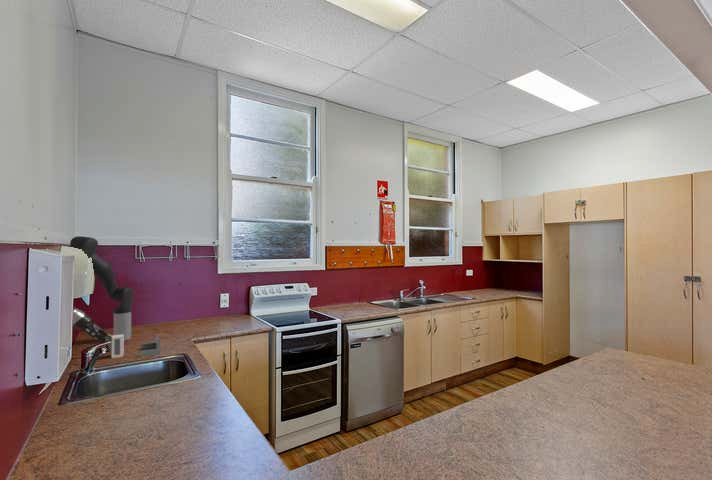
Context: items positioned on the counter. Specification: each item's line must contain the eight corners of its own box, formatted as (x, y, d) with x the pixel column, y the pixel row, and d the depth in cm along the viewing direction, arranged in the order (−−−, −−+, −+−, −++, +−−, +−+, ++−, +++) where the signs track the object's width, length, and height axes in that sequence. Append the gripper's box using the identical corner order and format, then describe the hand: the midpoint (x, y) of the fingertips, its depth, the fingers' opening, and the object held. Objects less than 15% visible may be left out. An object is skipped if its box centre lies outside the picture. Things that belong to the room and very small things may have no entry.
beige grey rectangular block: (112, 355, 189) (112, 335, 189) (123, 353, 191) (123, 334, 191) (111, 358, 184) (111, 337, 184) (122, 356, 187) (122, 336, 187)
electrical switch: (118, 350, 197) (116, 334, 196) (107, 353, 193) (106, 337, 192) (110, 347, 202) (109, 331, 202) (100, 350, 198) (98, 334, 197)
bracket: (141, 349, 200) (141, 335, 199) (159, 346, 204) (159, 333, 204) (140, 356, 187) (140, 342, 187) (159, 354, 192) (159, 339, 192)
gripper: (82, 316, 174) (110, 335, 180) (87, 310, 187) (112, 329, 192) (68, 328, 172) (97, 347, 178) (74, 321, 184) (101, 340, 190)
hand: (105, 338), depth 185 cm, fingers open, 8 cm apart
